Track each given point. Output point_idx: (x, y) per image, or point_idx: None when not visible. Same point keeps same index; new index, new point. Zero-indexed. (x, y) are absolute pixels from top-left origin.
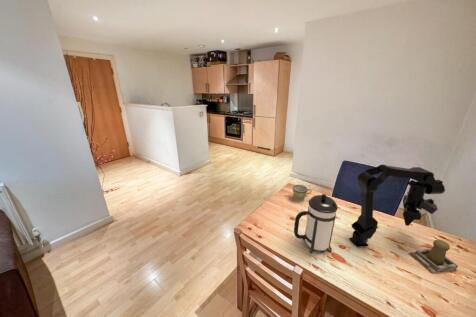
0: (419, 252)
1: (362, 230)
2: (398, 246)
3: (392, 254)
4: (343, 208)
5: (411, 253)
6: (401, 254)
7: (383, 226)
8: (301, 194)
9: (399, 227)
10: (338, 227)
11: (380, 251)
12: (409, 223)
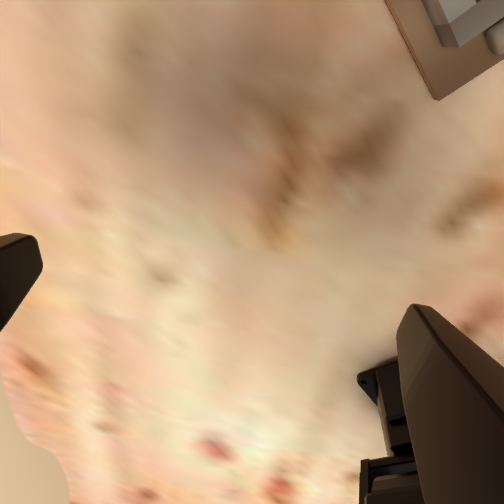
0: (493, 10)
1: (417, 469)
2: (354, 166)
3: (482, 225)
4: (91, 410)
5: (450, 79)
6: (463, 160)
7: (126, 235)
8: None
9: (43, 113)
10: (306, 443)
11: (468, 292)
12: (499, 382)
